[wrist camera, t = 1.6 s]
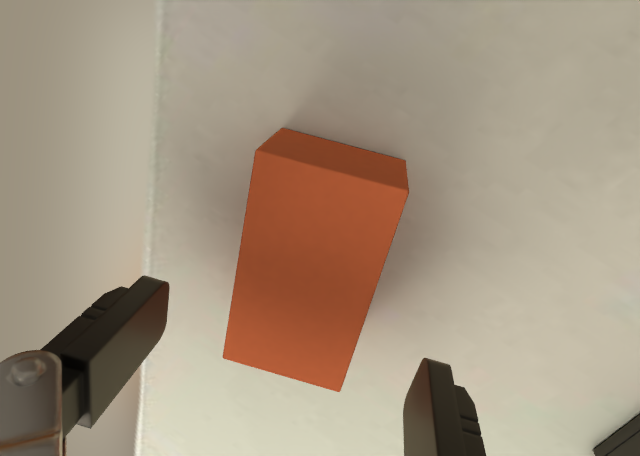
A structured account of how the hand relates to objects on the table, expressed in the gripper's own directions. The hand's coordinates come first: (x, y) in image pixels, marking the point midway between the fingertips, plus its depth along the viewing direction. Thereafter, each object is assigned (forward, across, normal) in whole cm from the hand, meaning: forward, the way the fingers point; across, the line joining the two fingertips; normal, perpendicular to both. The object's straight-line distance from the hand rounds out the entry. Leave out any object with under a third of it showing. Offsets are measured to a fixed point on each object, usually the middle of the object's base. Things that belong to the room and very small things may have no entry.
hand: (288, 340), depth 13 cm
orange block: (+6, 0, 0) cm, 6 cm away
